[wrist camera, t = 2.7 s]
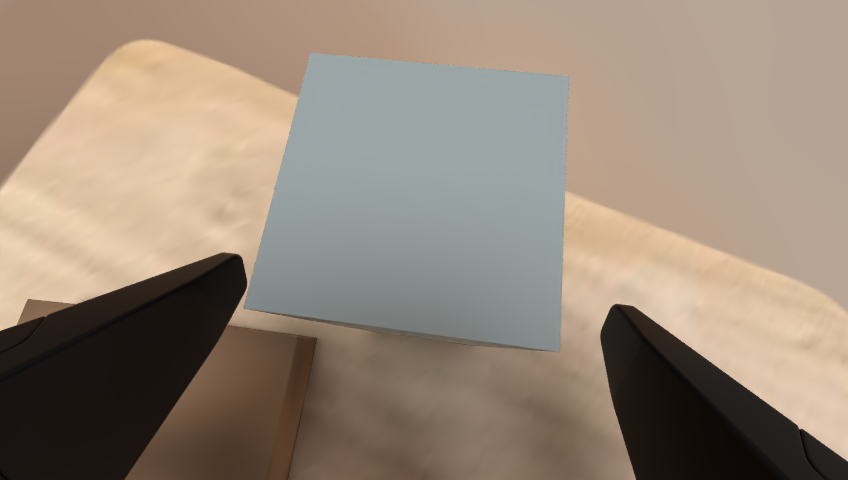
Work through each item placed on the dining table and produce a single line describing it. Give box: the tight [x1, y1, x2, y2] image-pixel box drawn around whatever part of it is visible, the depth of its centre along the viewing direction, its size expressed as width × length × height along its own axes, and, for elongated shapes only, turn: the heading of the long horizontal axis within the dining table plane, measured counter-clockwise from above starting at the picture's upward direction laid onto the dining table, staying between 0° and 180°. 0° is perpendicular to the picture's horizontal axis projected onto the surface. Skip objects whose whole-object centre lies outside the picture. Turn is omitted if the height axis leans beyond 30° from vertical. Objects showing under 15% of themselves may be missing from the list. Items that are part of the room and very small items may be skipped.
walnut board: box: [17, 299, 316, 480], centre depth 15 cm, size 12×12×2 cm
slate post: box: [244, 53, 569, 352], centre depth 12 cm, size 5×5×12 cm
